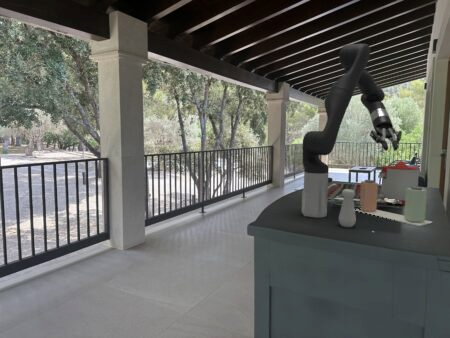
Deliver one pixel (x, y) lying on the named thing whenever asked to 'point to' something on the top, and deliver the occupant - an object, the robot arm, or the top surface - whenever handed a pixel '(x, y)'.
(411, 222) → the button board
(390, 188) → the red roofed toy house
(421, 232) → the top surface
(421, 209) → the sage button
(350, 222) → the salt shaker
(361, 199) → the light brown tall block
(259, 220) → the top surface
